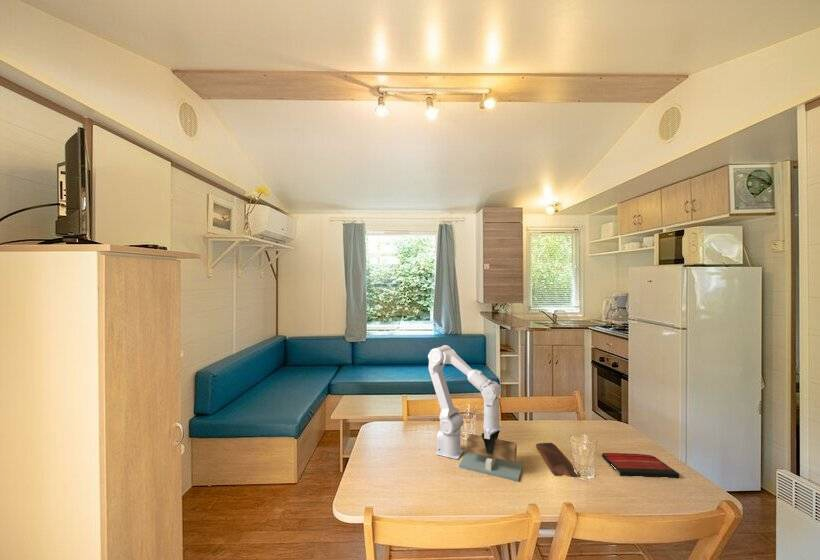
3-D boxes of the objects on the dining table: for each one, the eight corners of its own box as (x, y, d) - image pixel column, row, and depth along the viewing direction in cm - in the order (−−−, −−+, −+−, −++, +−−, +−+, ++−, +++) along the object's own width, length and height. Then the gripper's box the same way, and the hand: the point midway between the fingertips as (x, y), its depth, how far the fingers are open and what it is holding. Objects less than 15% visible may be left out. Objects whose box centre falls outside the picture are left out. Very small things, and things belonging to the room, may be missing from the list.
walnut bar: (467, 451, 138) (467, 438, 138) (470, 446, 143) (470, 433, 143) (514, 462, 130) (514, 448, 130) (516, 455, 135) (516, 442, 135)
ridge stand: (459, 467, 136) (459, 457, 136) (467, 453, 147) (467, 443, 147) (518, 481, 127) (518, 470, 126) (522, 465, 137) (523, 455, 137)
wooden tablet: (532, 440, 156) (555, 438, 156) (533, 445, 156) (556, 443, 156) (553, 474, 130) (581, 472, 129) (553, 480, 130) (581, 478, 129)
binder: (679, 473, 129) (619, 471, 130) (679, 479, 129) (619, 477, 130) (652, 453, 145) (599, 451, 146) (652, 459, 145) (599, 457, 146)
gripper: (498, 423, 128) (497, 461, 128) (505, 410, 141) (505, 444, 141) (478, 420, 131) (478, 456, 131) (487, 407, 144) (487, 440, 144)
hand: (491, 449), depth 137 cm, fingers closed on walnut bar, 5 cm apart
